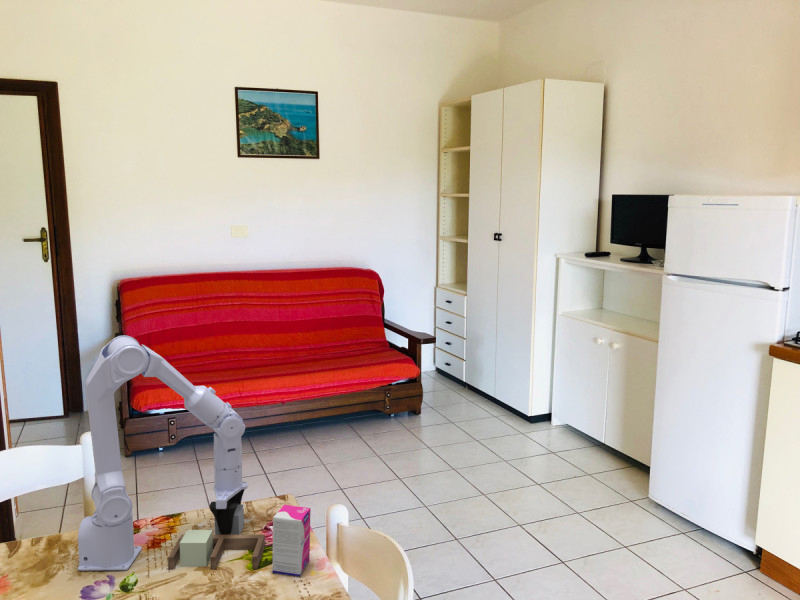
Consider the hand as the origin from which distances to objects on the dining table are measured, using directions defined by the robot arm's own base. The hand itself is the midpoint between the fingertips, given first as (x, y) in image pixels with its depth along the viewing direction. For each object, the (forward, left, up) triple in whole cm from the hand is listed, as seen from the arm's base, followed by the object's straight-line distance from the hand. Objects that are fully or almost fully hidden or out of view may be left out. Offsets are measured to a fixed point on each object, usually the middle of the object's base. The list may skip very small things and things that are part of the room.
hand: (229, 525), depth 138 cm
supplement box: (+15, -14, -2) cm, 21 cm away
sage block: (-4, -11, -2) cm, 12 cm away
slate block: (0, 0, -2) cm, 2 cm away
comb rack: (0, -11, -1) cm, 11 cm away
